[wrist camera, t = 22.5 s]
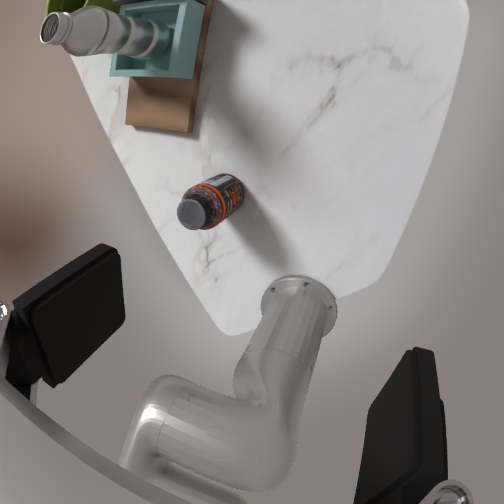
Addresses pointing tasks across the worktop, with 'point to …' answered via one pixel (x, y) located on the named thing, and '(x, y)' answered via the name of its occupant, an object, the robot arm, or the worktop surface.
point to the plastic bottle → (105, 33)
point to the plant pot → (80, 5)
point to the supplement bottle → (210, 202)
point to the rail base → (166, 91)
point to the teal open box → (181, 42)
